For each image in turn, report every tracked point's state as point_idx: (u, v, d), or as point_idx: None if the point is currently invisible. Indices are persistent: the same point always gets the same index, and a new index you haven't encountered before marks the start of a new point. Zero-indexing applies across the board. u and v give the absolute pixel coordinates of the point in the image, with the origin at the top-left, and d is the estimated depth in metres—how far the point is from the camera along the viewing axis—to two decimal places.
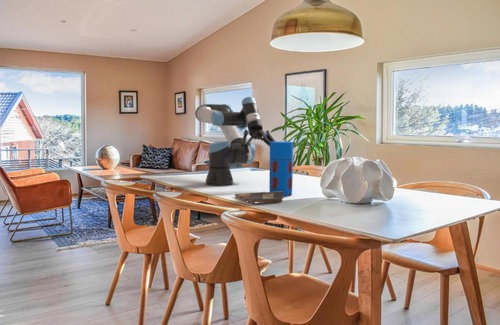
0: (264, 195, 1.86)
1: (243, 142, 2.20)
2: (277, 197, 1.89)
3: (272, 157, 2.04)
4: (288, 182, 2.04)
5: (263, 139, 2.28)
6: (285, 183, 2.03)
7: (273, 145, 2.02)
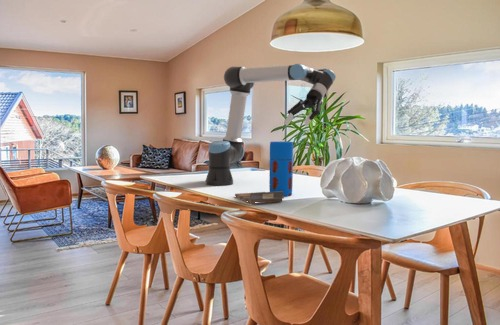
0: (264, 195, 1.86)
1: None
2: (277, 197, 1.89)
3: (272, 157, 2.04)
4: (288, 182, 2.04)
5: (301, 107, 2.22)
6: (285, 183, 2.03)
7: (273, 145, 2.02)
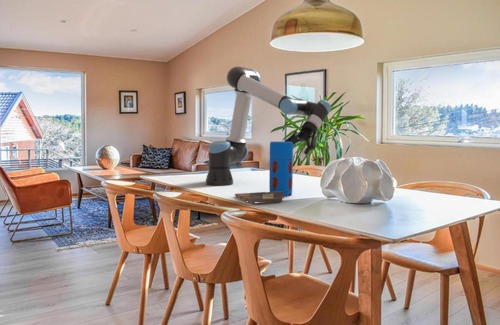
0: (264, 195, 1.86)
1: (314, 147, 2.06)
2: (277, 197, 1.89)
3: (272, 157, 2.04)
4: (288, 182, 2.04)
5: (296, 139, 2.16)
6: (285, 183, 2.03)
7: (273, 145, 2.02)
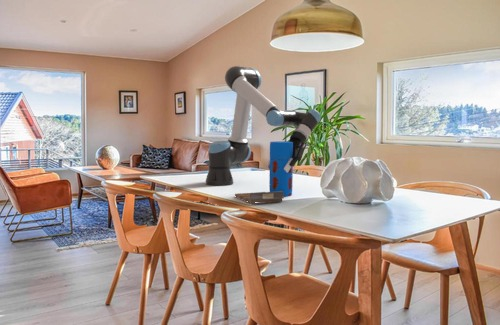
0: (264, 195, 1.86)
1: None
2: (277, 197, 1.89)
3: (272, 157, 2.04)
4: (288, 182, 2.04)
5: None
6: (285, 183, 2.03)
7: (273, 145, 2.02)
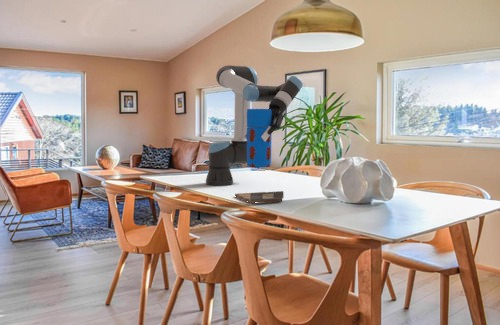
0: (264, 195, 1.86)
1: None
2: (277, 197, 1.89)
3: (249, 125, 1.89)
4: (266, 152, 1.89)
5: None
6: (263, 153, 1.88)
7: (250, 112, 1.88)
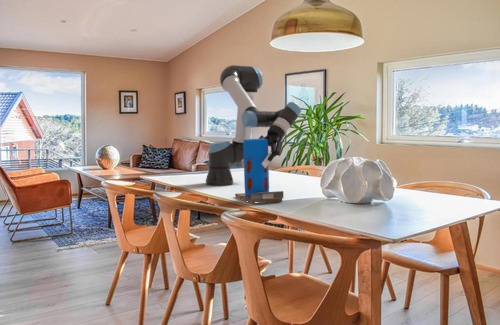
0: (264, 195, 1.86)
1: (279, 153, 1.89)
2: (277, 197, 1.89)
3: (246, 156, 1.90)
4: (264, 182, 1.90)
5: None
6: (260, 183, 1.89)
7: (247, 143, 1.89)
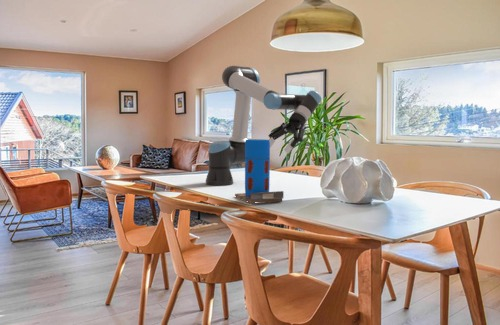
0: (264, 195, 1.86)
1: (301, 139, 1.96)
2: (277, 197, 1.89)
3: (247, 156, 1.90)
4: (264, 183, 1.90)
5: (283, 131, 2.06)
6: (261, 184, 1.89)
7: (248, 143, 1.89)
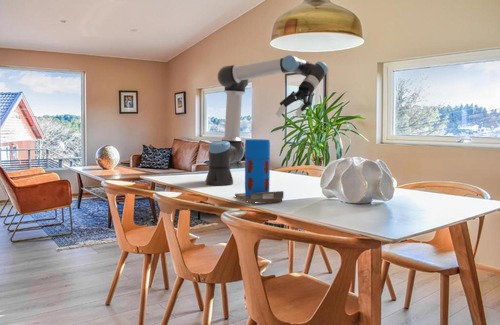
0: (264, 195, 1.86)
1: (310, 104, 2.13)
2: (277, 197, 1.89)
3: (247, 156, 1.90)
4: (264, 183, 1.90)
5: (294, 99, 2.23)
6: (261, 184, 1.89)
7: (248, 143, 1.89)
